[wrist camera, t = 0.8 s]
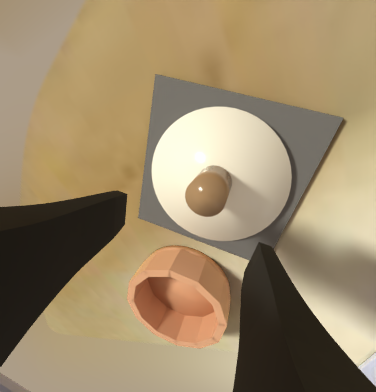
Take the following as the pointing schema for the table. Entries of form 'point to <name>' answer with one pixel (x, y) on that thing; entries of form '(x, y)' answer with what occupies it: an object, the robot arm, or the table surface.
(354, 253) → the table surface
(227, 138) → the lid
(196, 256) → the bowl
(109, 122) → the table surface
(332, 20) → the table surface
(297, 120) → the mat
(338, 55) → the table surface
